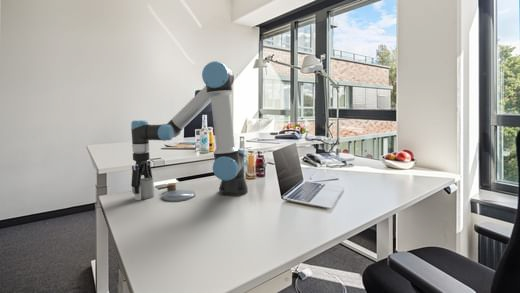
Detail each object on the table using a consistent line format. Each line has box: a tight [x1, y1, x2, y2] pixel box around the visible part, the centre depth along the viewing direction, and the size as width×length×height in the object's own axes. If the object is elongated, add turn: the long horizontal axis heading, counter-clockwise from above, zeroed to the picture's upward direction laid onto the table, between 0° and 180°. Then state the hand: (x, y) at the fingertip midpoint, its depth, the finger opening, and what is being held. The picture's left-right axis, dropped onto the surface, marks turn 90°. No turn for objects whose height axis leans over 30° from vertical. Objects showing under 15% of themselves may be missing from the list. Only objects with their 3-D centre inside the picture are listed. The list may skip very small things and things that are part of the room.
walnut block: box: [166, 182, 177, 192], centre depth 151 cm, size 4×4×4 cm
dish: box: [161, 189, 196, 202], centre depth 143 cm, size 16×16×1 cm
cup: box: [131, 177, 155, 200], centre depth 141 cm, size 7×10×9 cm
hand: (143, 196), depth 141 cm, fingers open, 9 cm apart
